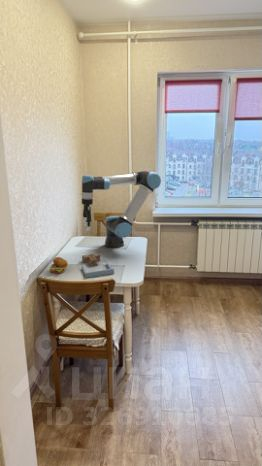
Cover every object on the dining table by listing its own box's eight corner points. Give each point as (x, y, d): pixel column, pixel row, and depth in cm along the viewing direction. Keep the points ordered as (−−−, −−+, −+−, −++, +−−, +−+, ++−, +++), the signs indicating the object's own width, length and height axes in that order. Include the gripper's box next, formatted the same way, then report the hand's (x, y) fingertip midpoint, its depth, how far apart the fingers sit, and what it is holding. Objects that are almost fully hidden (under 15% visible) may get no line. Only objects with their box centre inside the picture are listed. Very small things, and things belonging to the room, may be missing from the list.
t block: (99, 258, 225) (98, 253, 224) (103, 264, 214) (103, 258, 213) (82, 260, 222) (81, 255, 221) (85, 267, 211) (85, 261, 210)
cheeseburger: (50, 268, 210) (52, 254, 208) (66, 271, 212) (69, 256, 209) (48, 274, 200) (50, 259, 198) (65, 277, 202) (67, 262, 200)
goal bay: (108, 264, 213) (107, 260, 213) (114, 273, 200) (113, 268, 199) (81, 268, 208) (81, 264, 207) (86, 277, 194) (86, 273, 194)
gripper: (79, 195, 231) (78, 224, 236) (84, 201, 207) (84, 233, 213) (89, 195, 233) (88, 224, 238) (96, 201, 210) (95, 232, 215)
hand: (86, 228), depth 225 cm, fingers open, 13 cm apart
